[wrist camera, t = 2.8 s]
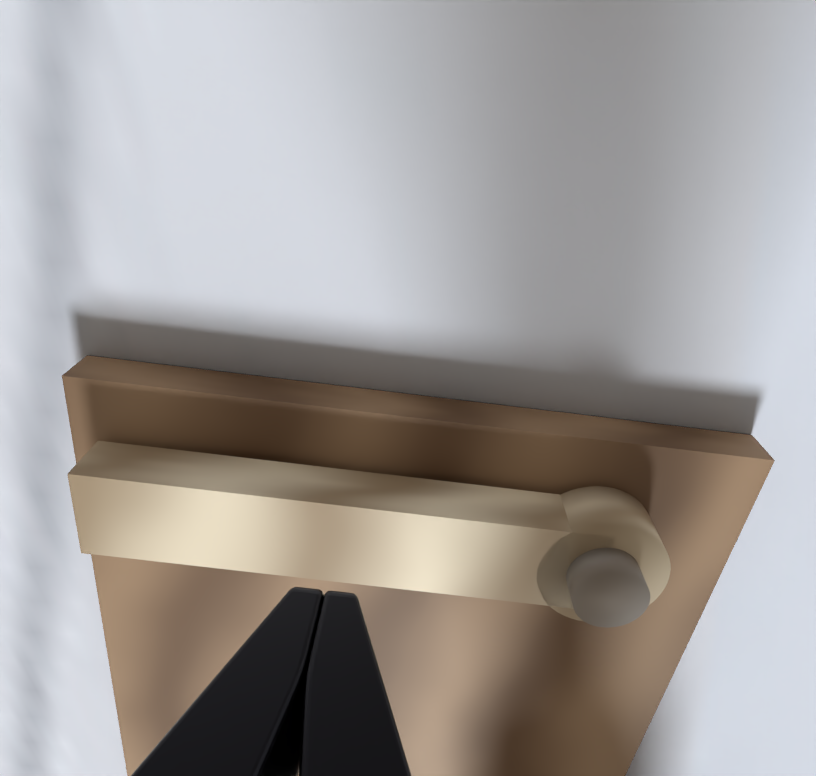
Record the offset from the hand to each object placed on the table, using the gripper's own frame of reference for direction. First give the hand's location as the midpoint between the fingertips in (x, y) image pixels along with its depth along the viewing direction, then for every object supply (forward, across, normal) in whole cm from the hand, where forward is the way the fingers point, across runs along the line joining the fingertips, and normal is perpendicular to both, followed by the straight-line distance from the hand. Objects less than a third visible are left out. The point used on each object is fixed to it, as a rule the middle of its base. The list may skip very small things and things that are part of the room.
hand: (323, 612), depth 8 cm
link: (+10, 0, +6) cm, 12 cm away
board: (+12, -2, +14) cm, 19 cm away
